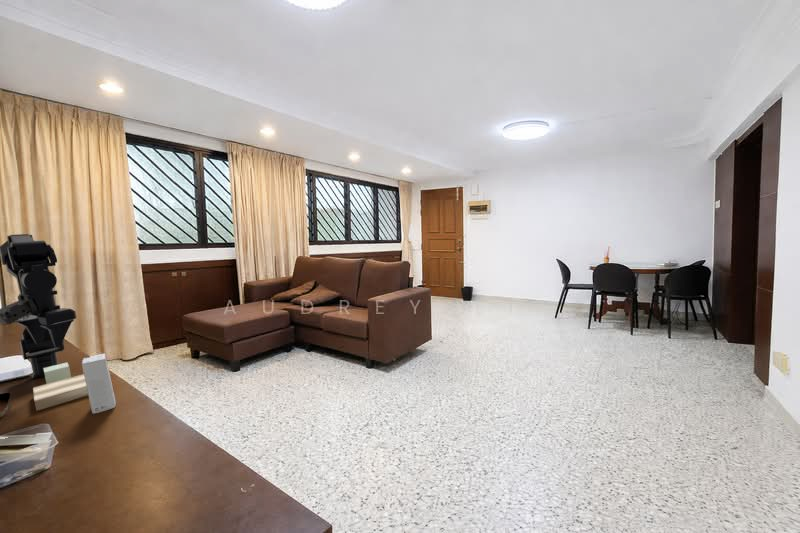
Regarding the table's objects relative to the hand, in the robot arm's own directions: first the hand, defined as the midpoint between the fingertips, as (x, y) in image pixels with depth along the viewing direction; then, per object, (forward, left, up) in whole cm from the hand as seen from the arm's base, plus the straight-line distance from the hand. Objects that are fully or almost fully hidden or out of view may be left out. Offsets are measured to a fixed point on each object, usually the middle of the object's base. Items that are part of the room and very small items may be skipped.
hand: (48, 345), depth 96 cm
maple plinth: (+8, +1, -12) cm, 15 cm away
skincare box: (+26, +7, -12) cm, 30 cm away
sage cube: (-4, +1, -12) cm, 13 cm away
